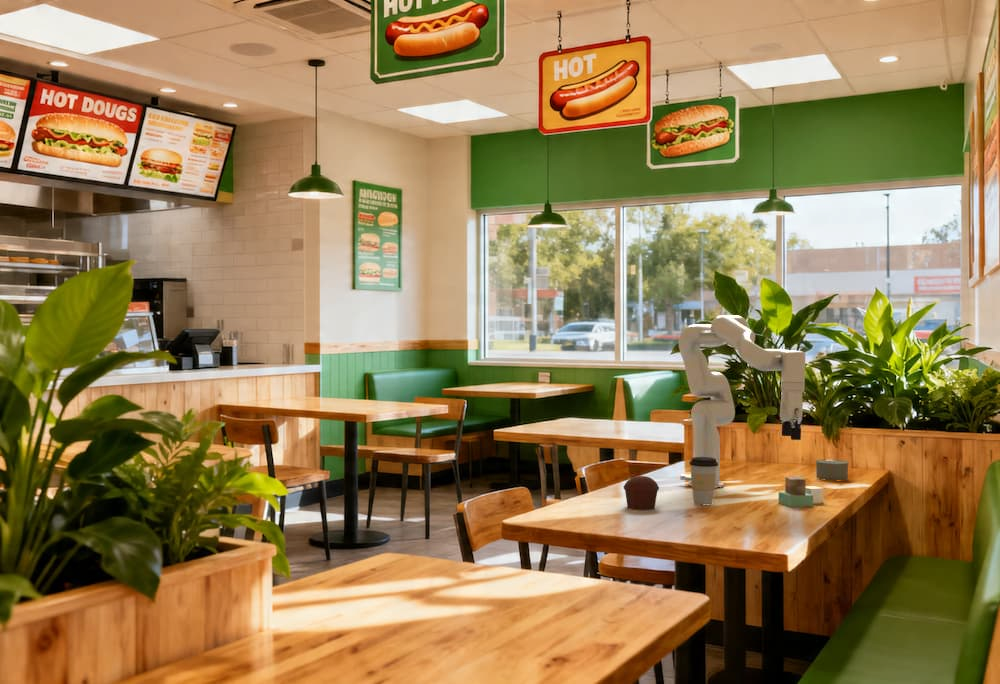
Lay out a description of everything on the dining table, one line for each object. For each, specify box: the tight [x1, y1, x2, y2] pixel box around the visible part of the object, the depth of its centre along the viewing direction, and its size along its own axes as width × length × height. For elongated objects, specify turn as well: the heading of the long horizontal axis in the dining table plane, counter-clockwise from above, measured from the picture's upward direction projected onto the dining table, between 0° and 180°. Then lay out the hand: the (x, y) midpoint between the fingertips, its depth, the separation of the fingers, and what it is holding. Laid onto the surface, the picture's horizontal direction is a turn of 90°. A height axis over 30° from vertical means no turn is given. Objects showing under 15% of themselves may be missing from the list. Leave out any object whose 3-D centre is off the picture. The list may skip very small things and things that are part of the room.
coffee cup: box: [689, 456, 718, 505], centre depth 311 cm, size 9×9×15 cm
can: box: [815, 458, 849, 481], centre depth 367 cm, size 12×12×7 cm
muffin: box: [623, 475, 660, 511], centre depth 304 cm, size 12×11×10 cm
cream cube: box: [805, 485, 824, 504], centre depth 316 cm, size 5×5×5 cm
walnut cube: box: [784, 476, 807, 495], centre depth 312 cm, size 5×5×5 cm
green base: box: [777, 491, 814, 508], centre depth 311 cm, size 8×8×4 cm
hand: (791, 437), depth 317 cm, fingers open, 9 cm apart
